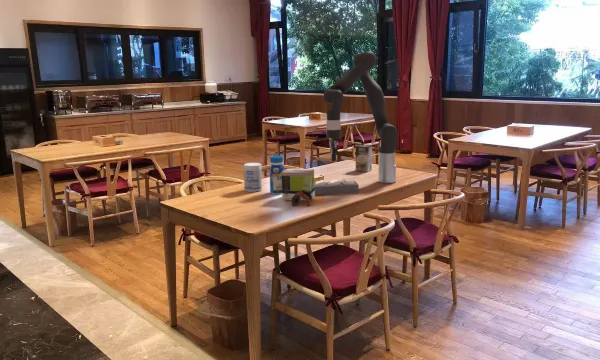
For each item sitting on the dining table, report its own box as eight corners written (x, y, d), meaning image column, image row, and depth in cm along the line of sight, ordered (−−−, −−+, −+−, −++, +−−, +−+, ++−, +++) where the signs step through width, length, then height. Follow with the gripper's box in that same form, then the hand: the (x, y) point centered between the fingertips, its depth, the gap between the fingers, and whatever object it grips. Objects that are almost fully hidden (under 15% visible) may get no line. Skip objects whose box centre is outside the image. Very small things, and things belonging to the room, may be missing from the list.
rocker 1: (324, 182, 270) (323, 179, 270) (325, 184, 266) (324, 181, 265) (313, 185, 270) (312, 182, 269) (314, 187, 265) (313, 184, 265)
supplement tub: (246, 193, 271) (245, 166, 268) (242, 189, 280) (241, 163, 276) (264, 191, 274) (263, 165, 271) (259, 187, 283) (258, 161, 279)
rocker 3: (352, 183, 272) (353, 180, 271) (354, 185, 268) (354, 182, 267) (341, 182, 271) (342, 178, 271) (343, 183, 267) (344, 180, 266)
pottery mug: (296, 202, 253) (304, 188, 251) (309, 213, 249) (317, 199, 247) (283, 201, 243) (291, 187, 241) (297, 213, 239) (305, 198, 237)
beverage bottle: (275, 190, 276) (274, 154, 271) (288, 191, 272) (287, 155, 267) (266, 193, 269) (265, 157, 264) (280, 195, 265) (278, 158, 260)
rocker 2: (338, 182, 271) (337, 178, 270) (340, 184, 267) (339, 180, 266) (327, 184, 270) (327, 181, 270) (329, 186, 266) (328, 183, 266)
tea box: (315, 196, 261) (314, 168, 258) (310, 201, 252) (309, 172, 249) (287, 195, 265) (286, 167, 262) (281, 200, 256) (280, 171, 253)
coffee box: (354, 170, 320) (355, 146, 317) (359, 169, 326) (359, 144, 322) (368, 172, 316) (368, 147, 312) (372, 170, 321) (372, 145, 317)
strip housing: (354, 188, 275) (354, 180, 274) (358, 193, 266) (358, 184, 265) (309, 191, 273) (309, 182, 272) (311, 195, 264) (311, 186, 263)
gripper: (343, 129, 256) (343, 163, 260) (338, 126, 268) (338, 158, 272) (328, 130, 255) (328, 163, 259) (324, 127, 268) (324, 159, 272)
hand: (333, 160), depth 266 cm, fingers closed
